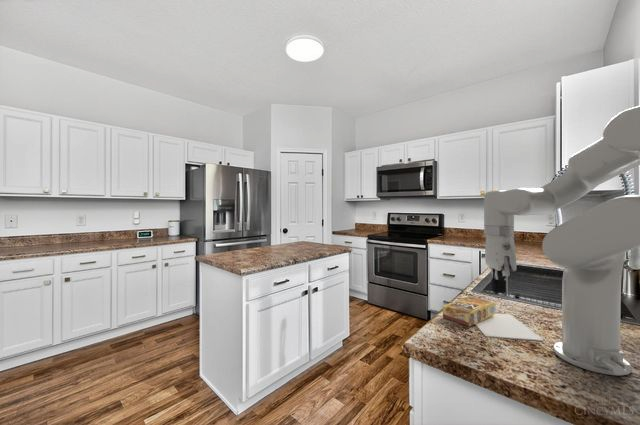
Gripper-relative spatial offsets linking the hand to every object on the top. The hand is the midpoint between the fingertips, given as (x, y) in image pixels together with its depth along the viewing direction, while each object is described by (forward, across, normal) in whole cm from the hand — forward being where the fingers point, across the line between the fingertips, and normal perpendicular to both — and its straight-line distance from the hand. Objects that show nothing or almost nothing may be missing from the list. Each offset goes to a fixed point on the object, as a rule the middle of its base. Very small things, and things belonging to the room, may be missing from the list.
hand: (498, 291), depth 81 cm
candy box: (+7, +10, +1) cm, 12 cm away
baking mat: (+10, 0, 0) cm, 10 cm away
